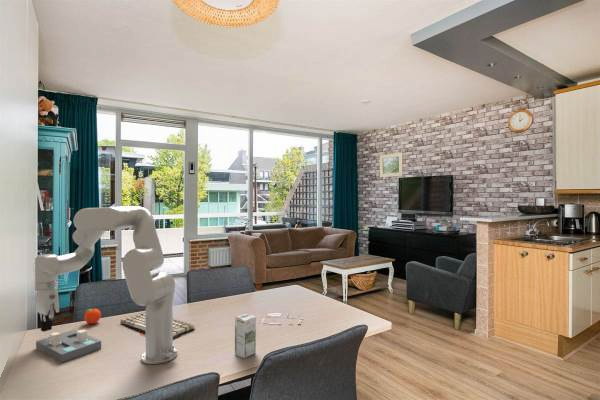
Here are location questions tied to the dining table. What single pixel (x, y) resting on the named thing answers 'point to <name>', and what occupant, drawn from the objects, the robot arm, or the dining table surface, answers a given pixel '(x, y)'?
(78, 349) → the switch panel
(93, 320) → the clementine
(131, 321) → the mechanical keyboard
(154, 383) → the dining table surface
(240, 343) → the syrup box
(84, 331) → the tab
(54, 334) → the tab
